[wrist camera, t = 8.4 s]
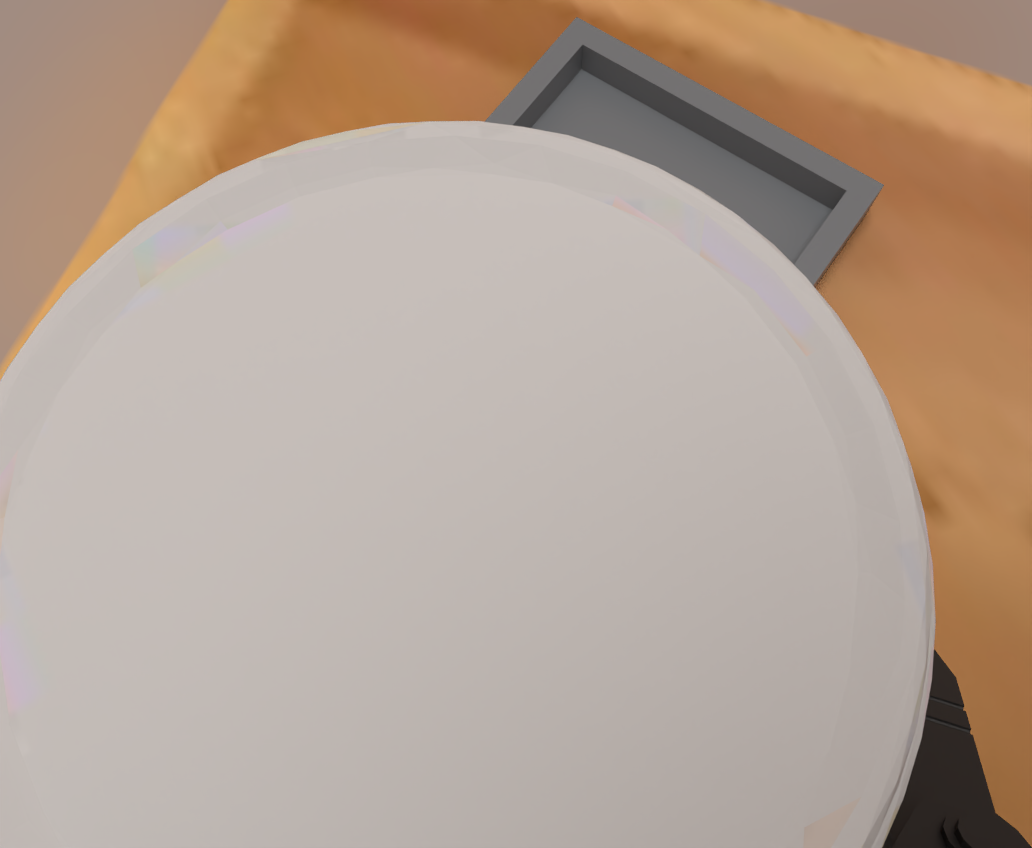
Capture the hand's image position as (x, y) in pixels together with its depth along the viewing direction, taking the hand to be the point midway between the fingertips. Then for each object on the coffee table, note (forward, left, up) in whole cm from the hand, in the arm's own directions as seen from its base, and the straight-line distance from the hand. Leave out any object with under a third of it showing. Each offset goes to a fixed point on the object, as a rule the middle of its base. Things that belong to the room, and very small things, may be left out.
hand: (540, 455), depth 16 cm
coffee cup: (-1, +3, -4) cm, 6 cm away
